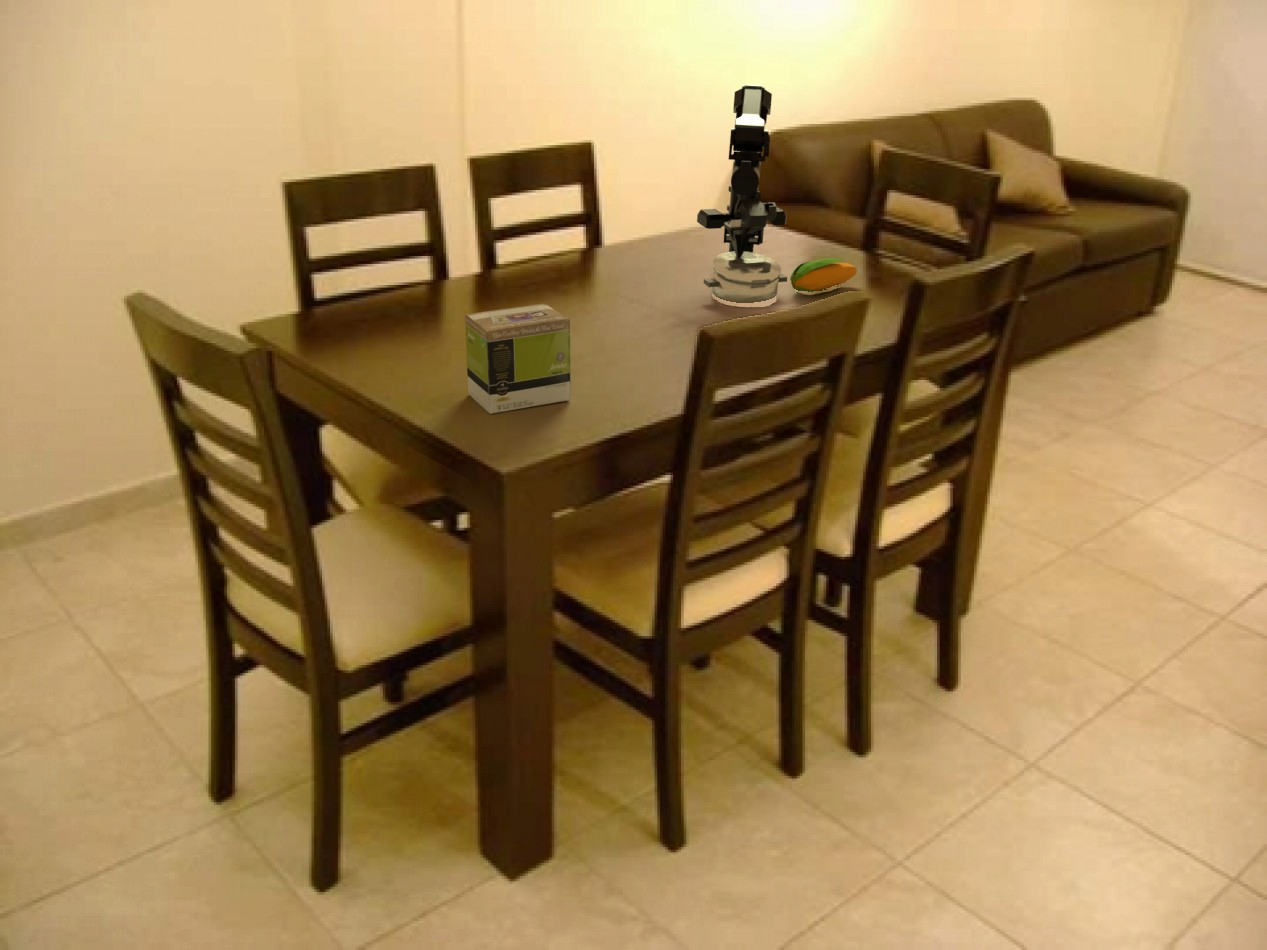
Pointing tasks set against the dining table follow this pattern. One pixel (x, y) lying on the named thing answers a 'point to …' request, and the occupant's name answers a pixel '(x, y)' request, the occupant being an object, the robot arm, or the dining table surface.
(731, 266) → the lid
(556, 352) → the tea box
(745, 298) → the pot
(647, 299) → the dining table surface
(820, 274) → the corn
